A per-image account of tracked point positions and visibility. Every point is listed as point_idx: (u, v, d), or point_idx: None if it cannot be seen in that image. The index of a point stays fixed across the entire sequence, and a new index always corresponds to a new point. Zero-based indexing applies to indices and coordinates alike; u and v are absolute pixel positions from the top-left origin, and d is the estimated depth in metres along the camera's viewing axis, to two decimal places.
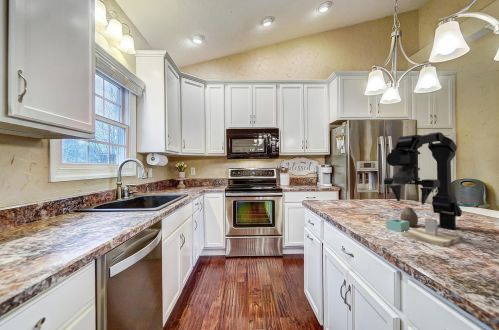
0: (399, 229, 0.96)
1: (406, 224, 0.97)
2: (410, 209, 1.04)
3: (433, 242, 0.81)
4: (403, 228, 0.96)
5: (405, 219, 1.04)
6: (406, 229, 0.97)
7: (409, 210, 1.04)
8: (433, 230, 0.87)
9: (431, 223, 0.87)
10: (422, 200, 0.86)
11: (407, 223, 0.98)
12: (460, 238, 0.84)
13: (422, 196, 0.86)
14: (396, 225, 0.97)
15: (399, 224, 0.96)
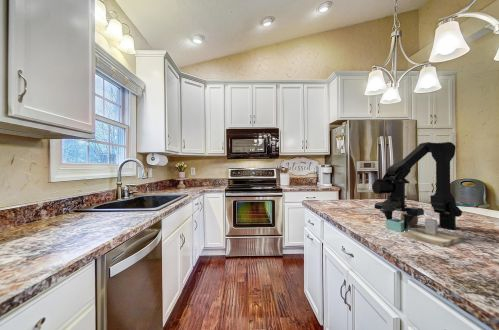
0: (399, 229, 0.96)
1: None
2: None
3: (433, 242, 0.81)
4: (403, 228, 0.96)
5: None
6: (406, 229, 0.97)
7: None
8: (433, 230, 0.87)
9: (431, 223, 0.87)
10: (405, 225, 0.96)
11: None
12: (460, 238, 0.84)
13: (405, 222, 0.96)
14: (396, 225, 0.97)
15: (399, 224, 0.96)
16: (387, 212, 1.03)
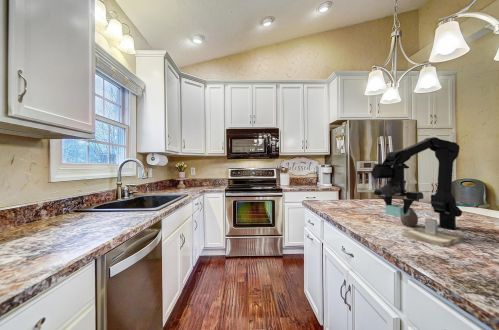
0: (399, 214, 0.96)
1: None
2: (410, 209, 1.04)
3: (433, 242, 0.81)
4: (403, 213, 0.96)
5: (405, 219, 1.04)
6: (406, 214, 0.97)
7: (409, 210, 1.04)
8: (433, 230, 0.87)
9: (431, 223, 0.87)
10: (404, 210, 0.96)
11: None
12: (460, 238, 0.84)
13: (404, 206, 0.96)
14: (396, 210, 0.97)
15: (399, 209, 0.96)
16: (387, 198, 1.03)
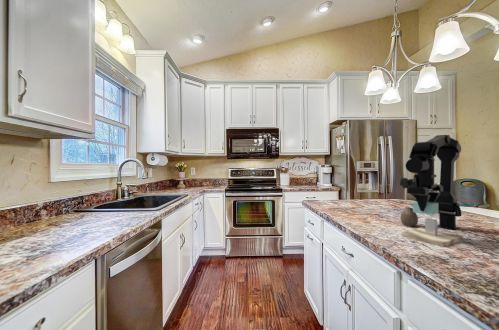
0: None
1: None
2: (410, 209, 1.04)
3: (433, 242, 0.81)
4: (419, 209, 0.89)
5: (405, 219, 1.04)
6: (425, 212, 0.87)
7: (409, 210, 1.04)
8: (433, 230, 0.87)
9: (431, 223, 0.87)
10: None
11: (427, 206, 0.87)
12: (460, 238, 0.84)
13: None
14: None
15: None
16: None
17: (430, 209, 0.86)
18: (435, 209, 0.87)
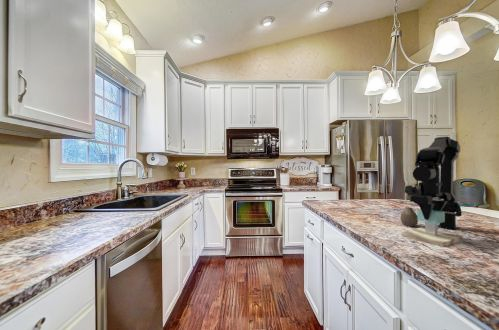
0: None
1: (430, 215, 0.86)
2: (410, 209, 1.04)
3: (433, 242, 0.81)
4: None
5: (405, 219, 1.04)
6: (429, 220, 0.86)
7: (409, 210, 1.04)
8: (433, 230, 0.87)
9: (431, 223, 0.87)
10: None
11: (431, 215, 0.85)
12: (460, 238, 0.84)
13: None
14: None
15: None
16: (432, 202, 0.91)
17: (434, 218, 0.84)
18: (440, 218, 0.85)
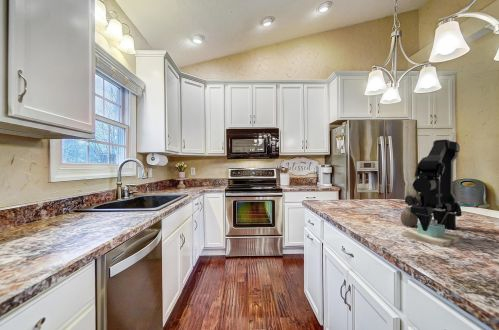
0: None
1: (430, 228, 0.86)
2: None
3: (433, 242, 0.81)
4: (424, 231, 0.88)
5: (405, 219, 1.04)
6: (429, 234, 0.86)
7: (409, 210, 1.04)
8: None
9: (431, 223, 0.87)
10: None
11: (431, 228, 0.85)
12: (460, 238, 0.84)
13: None
14: None
15: None
16: (434, 212, 0.91)
17: (434, 231, 0.84)
18: (440, 232, 0.85)
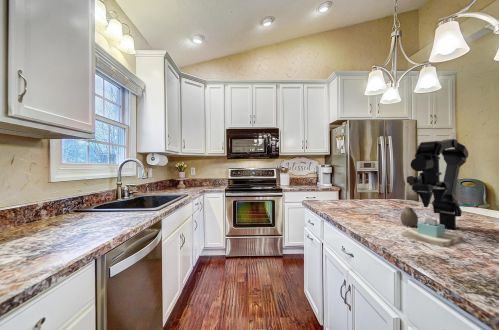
0: None
1: (430, 228, 0.86)
2: (410, 209, 1.04)
3: (433, 242, 0.81)
4: (424, 231, 0.88)
5: (405, 219, 1.04)
6: (429, 234, 0.86)
7: (409, 210, 1.04)
8: None
9: (431, 223, 0.87)
10: None
11: (431, 228, 0.85)
12: (460, 238, 0.84)
13: None
14: None
15: None
16: (433, 190, 0.98)
17: (434, 231, 0.84)
18: (440, 232, 0.85)
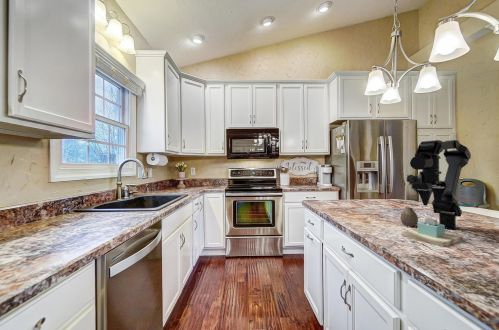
0: None
1: (430, 228, 0.86)
2: (410, 209, 1.04)
3: (433, 242, 0.81)
4: (424, 231, 0.88)
5: (405, 219, 1.04)
6: (429, 234, 0.86)
7: (409, 210, 1.04)
8: None
9: (431, 223, 0.87)
10: None
11: (431, 228, 0.85)
12: (460, 238, 0.84)
13: None
14: None
15: None
16: (433, 189, 0.99)
17: (434, 231, 0.84)
18: (440, 232, 0.85)
